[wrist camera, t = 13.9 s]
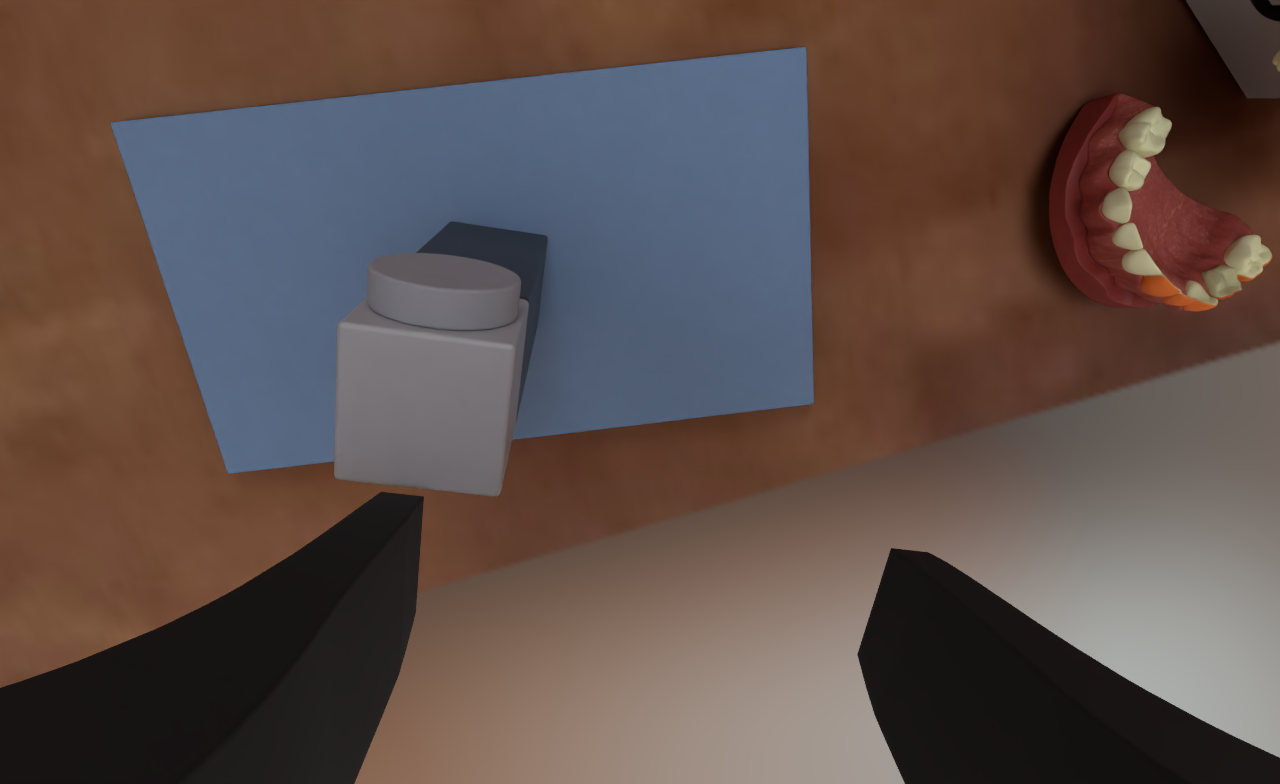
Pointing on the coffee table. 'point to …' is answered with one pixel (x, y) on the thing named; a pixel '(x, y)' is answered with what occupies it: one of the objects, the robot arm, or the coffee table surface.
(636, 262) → the rubber mat
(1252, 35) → the icon cube
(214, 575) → the coffee table surface
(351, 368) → the grey toy brick
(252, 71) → the coffee table surface
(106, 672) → the robot arm
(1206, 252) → the dentures
